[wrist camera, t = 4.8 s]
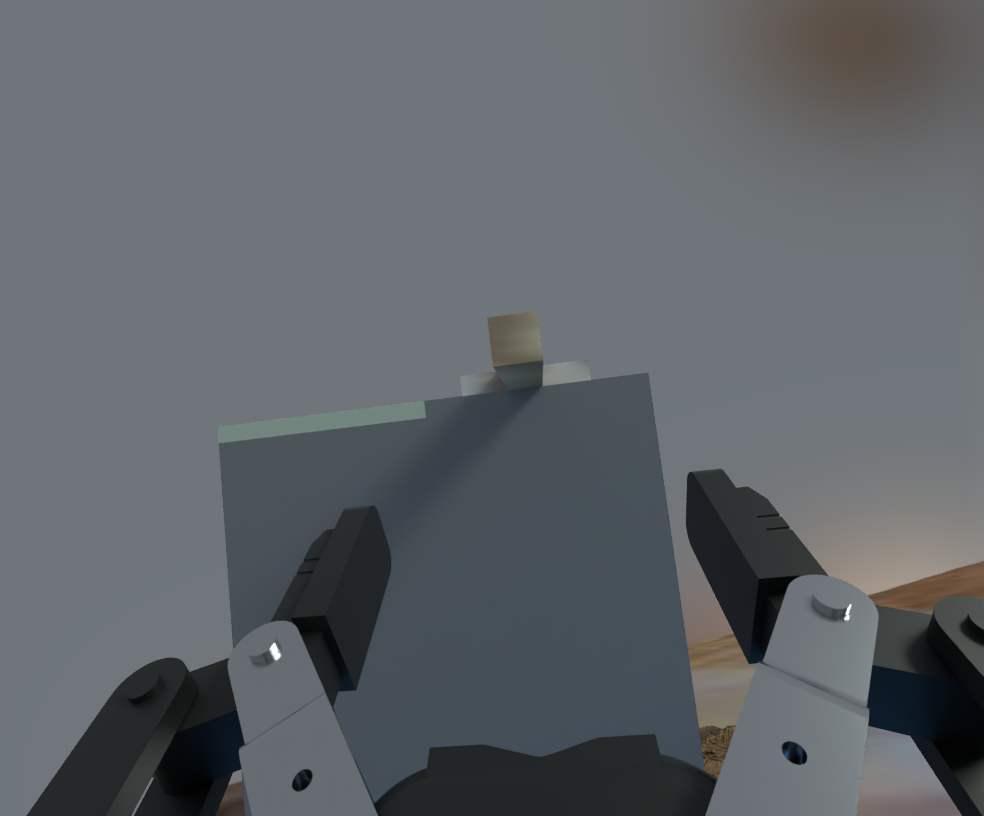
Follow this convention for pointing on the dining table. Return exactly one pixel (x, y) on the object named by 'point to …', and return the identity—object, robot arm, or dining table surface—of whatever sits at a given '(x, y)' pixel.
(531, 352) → the hammer
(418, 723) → the blue-grey rectangular block
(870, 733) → the dining table surface
